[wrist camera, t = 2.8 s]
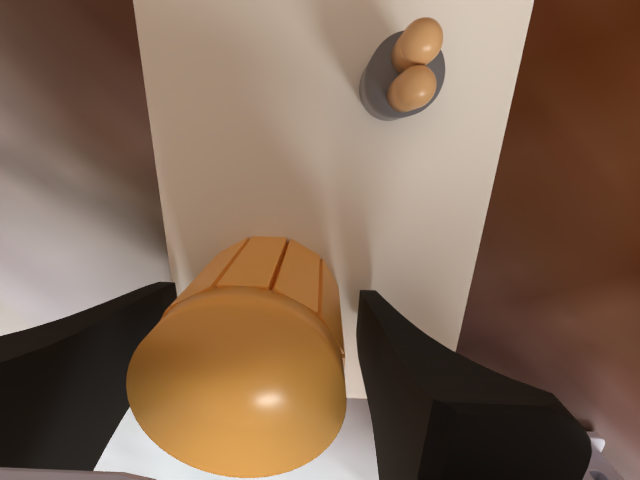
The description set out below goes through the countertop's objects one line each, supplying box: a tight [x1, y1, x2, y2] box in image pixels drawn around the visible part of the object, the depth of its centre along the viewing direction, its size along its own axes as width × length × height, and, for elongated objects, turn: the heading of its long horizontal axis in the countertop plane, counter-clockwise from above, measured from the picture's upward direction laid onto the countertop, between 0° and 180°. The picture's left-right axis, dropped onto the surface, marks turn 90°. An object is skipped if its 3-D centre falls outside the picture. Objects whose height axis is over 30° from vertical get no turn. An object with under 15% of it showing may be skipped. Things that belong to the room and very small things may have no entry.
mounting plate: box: [133, 0, 534, 399], centre depth 10 cm, size 12×18×5 cm, turn 178°
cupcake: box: [126, 236, 346, 478], centre depth 10 cm, size 6×6×5 cm
